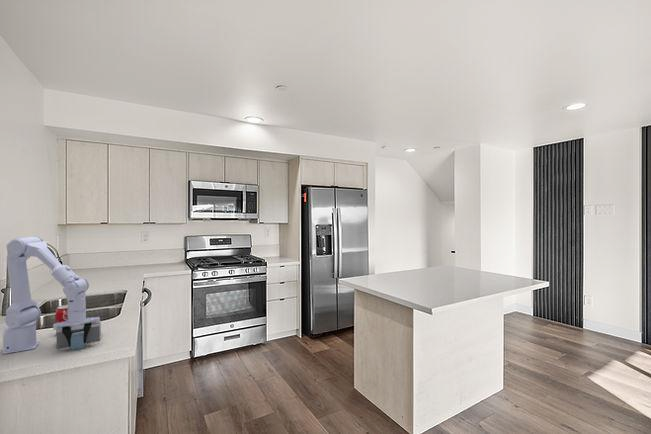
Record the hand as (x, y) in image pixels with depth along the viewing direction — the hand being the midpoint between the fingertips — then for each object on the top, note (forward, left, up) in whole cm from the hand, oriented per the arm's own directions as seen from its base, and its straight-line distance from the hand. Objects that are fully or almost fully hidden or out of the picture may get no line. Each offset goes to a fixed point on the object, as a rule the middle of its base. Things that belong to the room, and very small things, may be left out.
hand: (77, 343), depth 131 cm
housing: (0, +8, -2) cm, 8 cm away
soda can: (-6, +21, -2) cm, 22 cm away
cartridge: (0, +5, -2) cm, 5 cm away
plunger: (+5, +9, +1) cm, 10 cm away
